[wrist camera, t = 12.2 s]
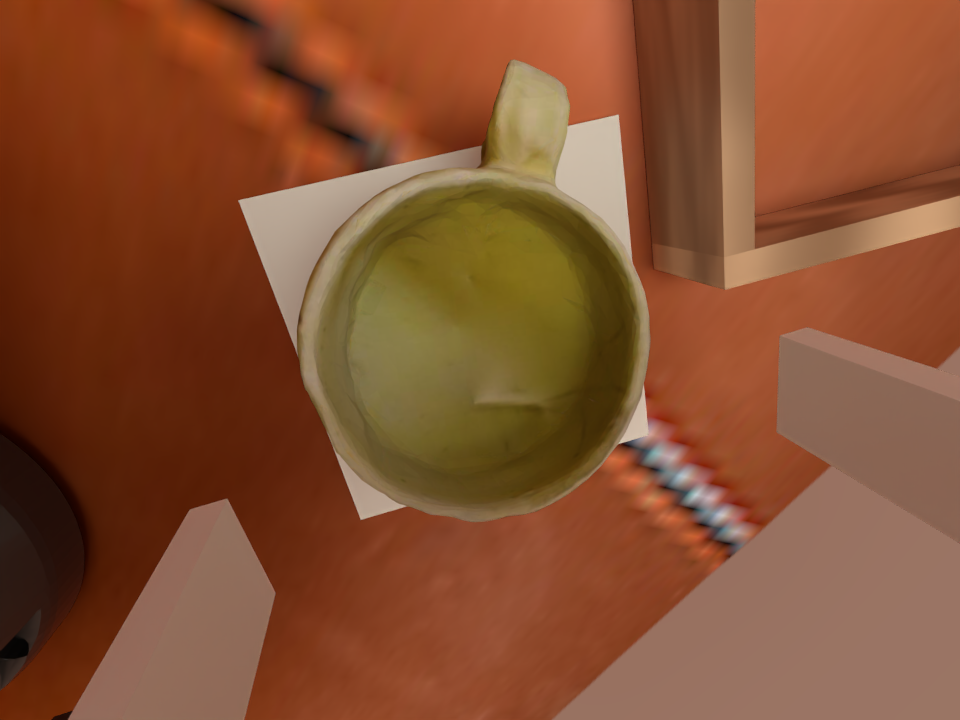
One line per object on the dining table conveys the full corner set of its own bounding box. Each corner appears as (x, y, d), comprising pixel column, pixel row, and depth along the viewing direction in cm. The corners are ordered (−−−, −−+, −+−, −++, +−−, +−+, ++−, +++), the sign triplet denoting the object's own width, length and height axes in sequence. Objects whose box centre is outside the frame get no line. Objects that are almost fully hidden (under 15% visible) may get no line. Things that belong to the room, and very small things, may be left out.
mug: (552, 521, 20) (571, 620, 10) (340, 416, 21) (171, 410, 11) (667, 257, 20) (792, 102, 11) (456, 176, 22) (392, -23, 12)
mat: (361, 512, 23) (360, 519, 23) (242, 200, 18) (238, 200, 17) (642, 429, 25) (648, 434, 24) (611, 117, 19) (618, 114, 19)
